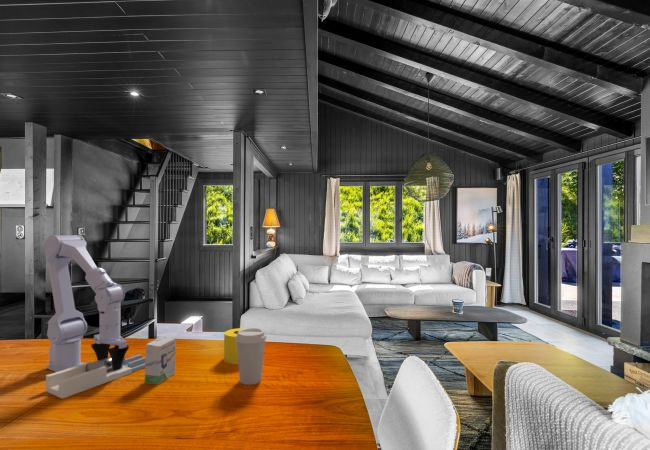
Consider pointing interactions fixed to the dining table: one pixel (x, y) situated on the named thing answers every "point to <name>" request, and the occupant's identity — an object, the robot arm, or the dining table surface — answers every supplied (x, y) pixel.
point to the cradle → (135, 362)
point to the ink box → (160, 360)
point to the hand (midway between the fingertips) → (109, 367)
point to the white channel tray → (80, 379)
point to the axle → (102, 364)
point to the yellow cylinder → (231, 346)
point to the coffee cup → (250, 354)
